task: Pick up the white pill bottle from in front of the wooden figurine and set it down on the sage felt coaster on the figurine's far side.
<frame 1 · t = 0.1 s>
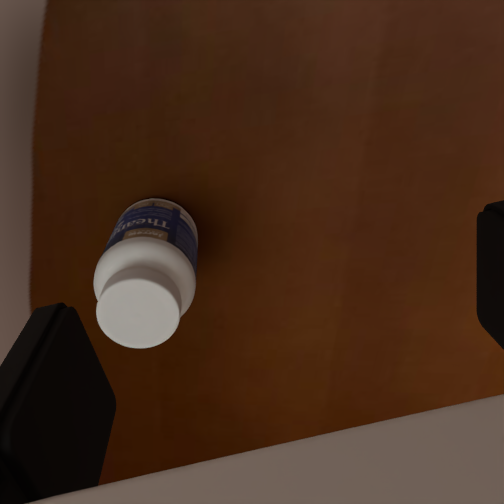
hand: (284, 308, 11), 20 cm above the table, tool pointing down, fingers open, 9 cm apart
pill bottle: (157, 233, 31), on the table
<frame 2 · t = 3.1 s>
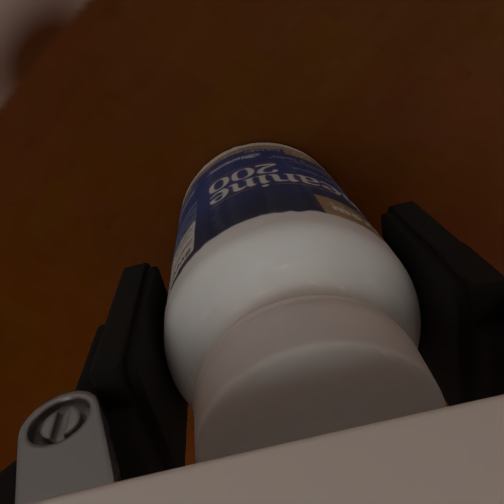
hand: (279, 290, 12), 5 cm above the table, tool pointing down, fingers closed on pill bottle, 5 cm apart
pill bottle: (259, 215, 16), on the table, touching gripper
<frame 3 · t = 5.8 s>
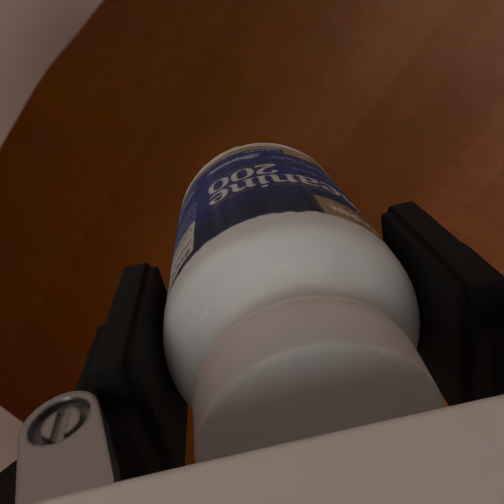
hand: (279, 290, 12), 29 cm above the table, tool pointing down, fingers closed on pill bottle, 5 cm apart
pill bottle: (258, 215, 16), point 24 cm above the table, touching gripper
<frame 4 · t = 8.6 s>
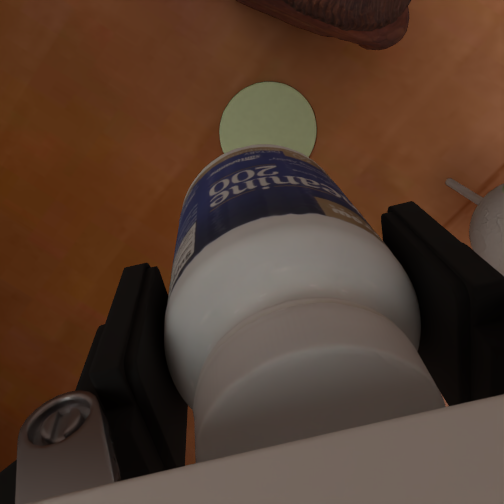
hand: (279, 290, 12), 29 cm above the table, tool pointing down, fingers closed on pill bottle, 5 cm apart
coaster: (267, 132, 39), on the table
lollipop: (448, 181, 42), on the table
pill bottle: (259, 217, 16), point 24 cm above the table, touching gripper
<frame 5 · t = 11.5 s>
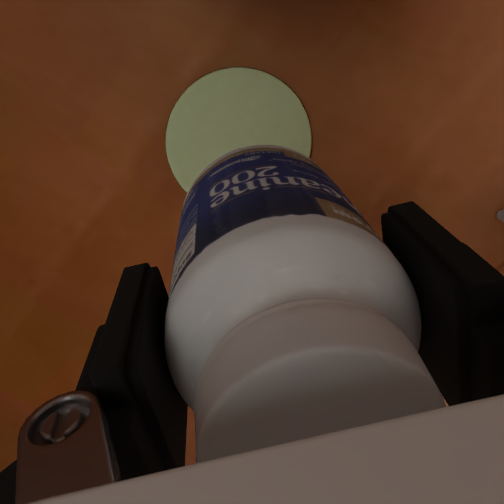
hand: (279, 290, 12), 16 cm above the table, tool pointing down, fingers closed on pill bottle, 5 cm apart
coaster: (239, 144, 26), on the table
lollipop: (499, 213, 30), on the table
pill bottle: (259, 217, 16), point 11 cm above the table, touching gripper
when the fingers open (5 cm above the table, at t = 14.3 s): pill bottle stays where it is, resting on coaster.
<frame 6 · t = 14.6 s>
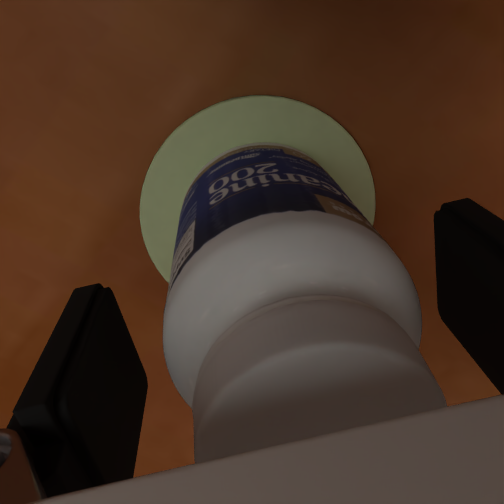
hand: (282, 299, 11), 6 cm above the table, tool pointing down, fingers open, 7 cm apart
coaster: (259, 216, 16), on the table
pill bottle: (259, 215, 16), resting on coaster
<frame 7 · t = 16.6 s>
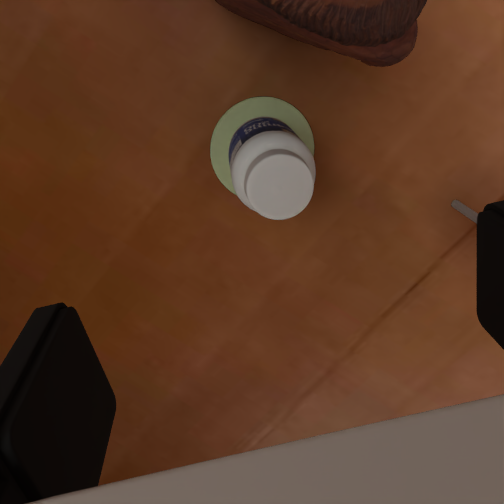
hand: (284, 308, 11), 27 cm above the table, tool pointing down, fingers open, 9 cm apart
coaster: (262, 150, 36), on the table
lollipop: (454, 203, 40), on the table
pill bottle: (262, 150, 36), resting on coaster
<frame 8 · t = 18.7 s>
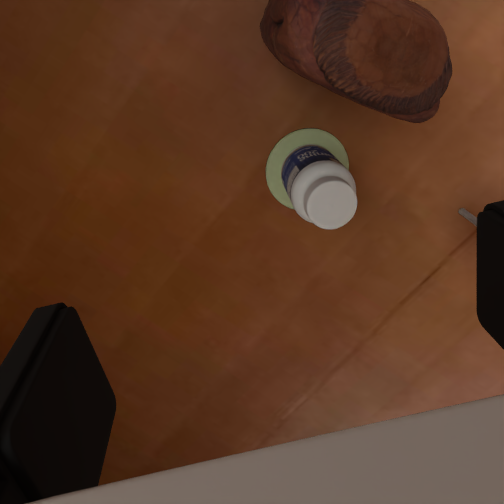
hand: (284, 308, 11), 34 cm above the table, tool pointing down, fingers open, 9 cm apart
coaster: (307, 170, 45), on the table
lollipop: (460, 210, 49), on the table
pill bottle: (307, 170, 45), resting on coaster
wooden figurine: (320, 40, 40), on the table
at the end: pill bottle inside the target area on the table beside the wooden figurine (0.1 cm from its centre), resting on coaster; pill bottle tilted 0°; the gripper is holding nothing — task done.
